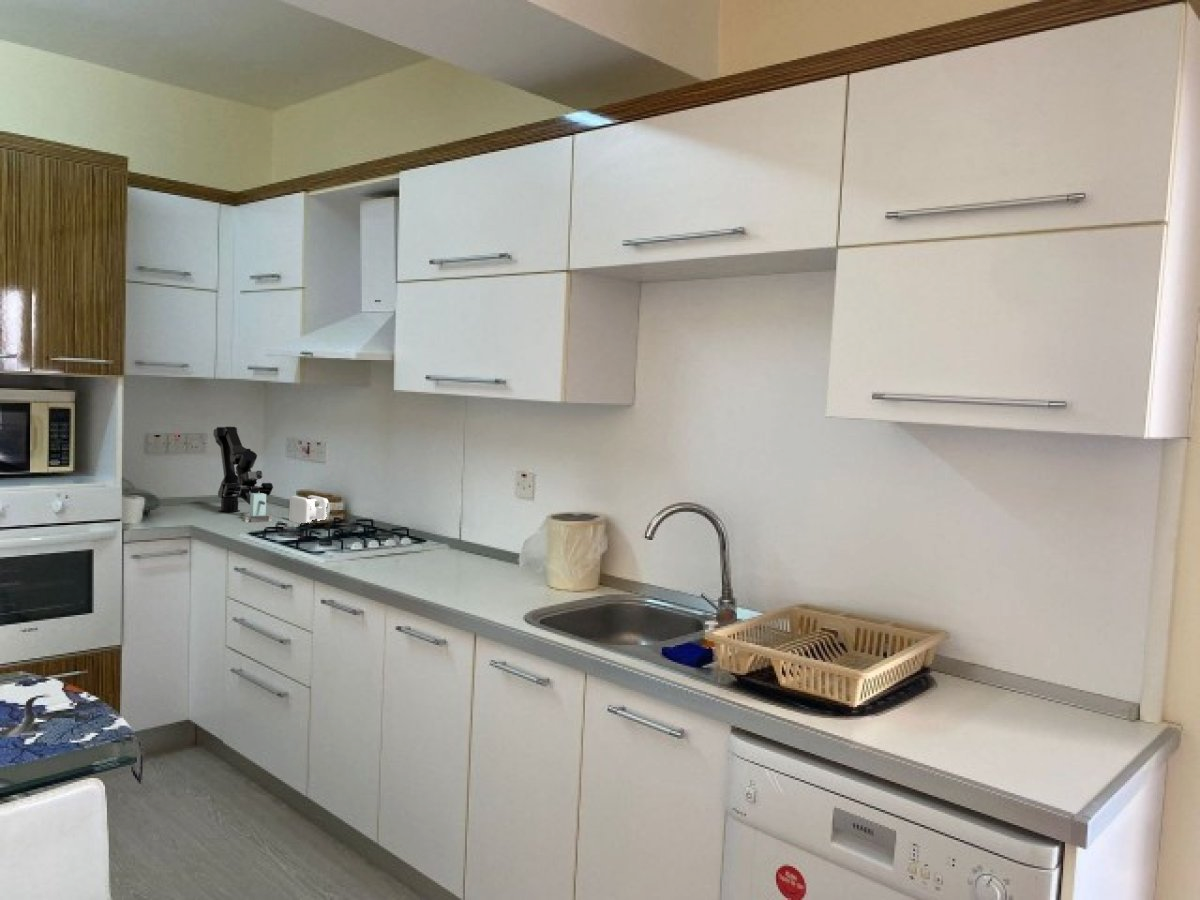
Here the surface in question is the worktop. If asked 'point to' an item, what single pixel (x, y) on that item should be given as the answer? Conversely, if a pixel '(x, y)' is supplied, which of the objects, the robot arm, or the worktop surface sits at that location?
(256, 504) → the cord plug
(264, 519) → the comb rail
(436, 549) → the worktop surface
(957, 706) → the worktop surface
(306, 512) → the cable organizer
